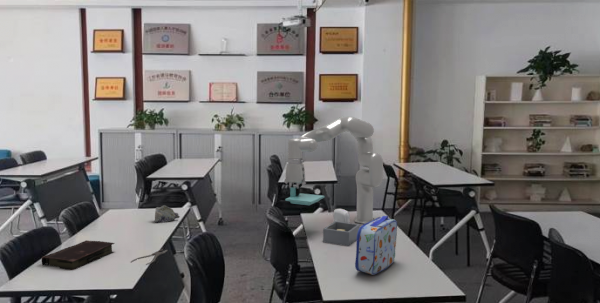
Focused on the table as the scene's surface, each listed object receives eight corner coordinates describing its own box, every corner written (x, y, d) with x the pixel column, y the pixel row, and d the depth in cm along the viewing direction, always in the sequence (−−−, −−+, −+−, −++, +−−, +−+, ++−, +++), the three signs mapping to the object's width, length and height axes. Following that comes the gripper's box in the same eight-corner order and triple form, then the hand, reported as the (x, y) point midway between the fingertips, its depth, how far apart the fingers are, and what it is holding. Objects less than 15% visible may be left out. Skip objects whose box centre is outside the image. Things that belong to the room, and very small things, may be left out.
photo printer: (332, 229, 254) (332, 208, 253) (337, 228, 257) (338, 206, 256) (345, 233, 247) (345, 211, 245) (350, 232, 249) (351, 210, 248)
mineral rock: (180, 220, 274) (180, 203, 273) (171, 224, 263) (170, 207, 262) (161, 218, 277) (160, 202, 276) (151, 223, 266) (151, 206, 265)
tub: (334, 233, 246) (335, 221, 245) (359, 237, 240) (359, 224, 239) (323, 242, 232) (323, 228, 231) (348, 246, 226) (349, 232, 225)
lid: (299, 197, 254) (299, 184, 253) (324, 200, 247) (324, 186, 246) (285, 203, 239) (285, 189, 238) (311, 206, 232) (311, 192, 231)
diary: (41, 267, 198) (40, 256, 198) (85, 249, 222) (85, 239, 221) (74, 271, 192) (73, 260, 191) (116, 253, 215) (116, 242, 215)
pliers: (128, 262, 200) (149, 248, 220) (128, 264, 200) (149, 249, 220) (149, 264, 199) (168, 249, 219) (149, 265, 199) (168, 250, 219)
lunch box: (377, 256, 211) (378, 210, 209) (399, 260, 206) (400, 213, 203) (352, 275, 188) (352, 223, 185) (375, 280, 182) (376, 227, 180)
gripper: (311, 161, 243) (311, 195, 245) (285, 159, 250) (285, 192, 253) (305, 163, 237) (305, 197, 239) (278, 161, 244) (278, 194, 246)
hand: (294, 194), depth 246 cm, fingers closed on lid, 2 cm apart
